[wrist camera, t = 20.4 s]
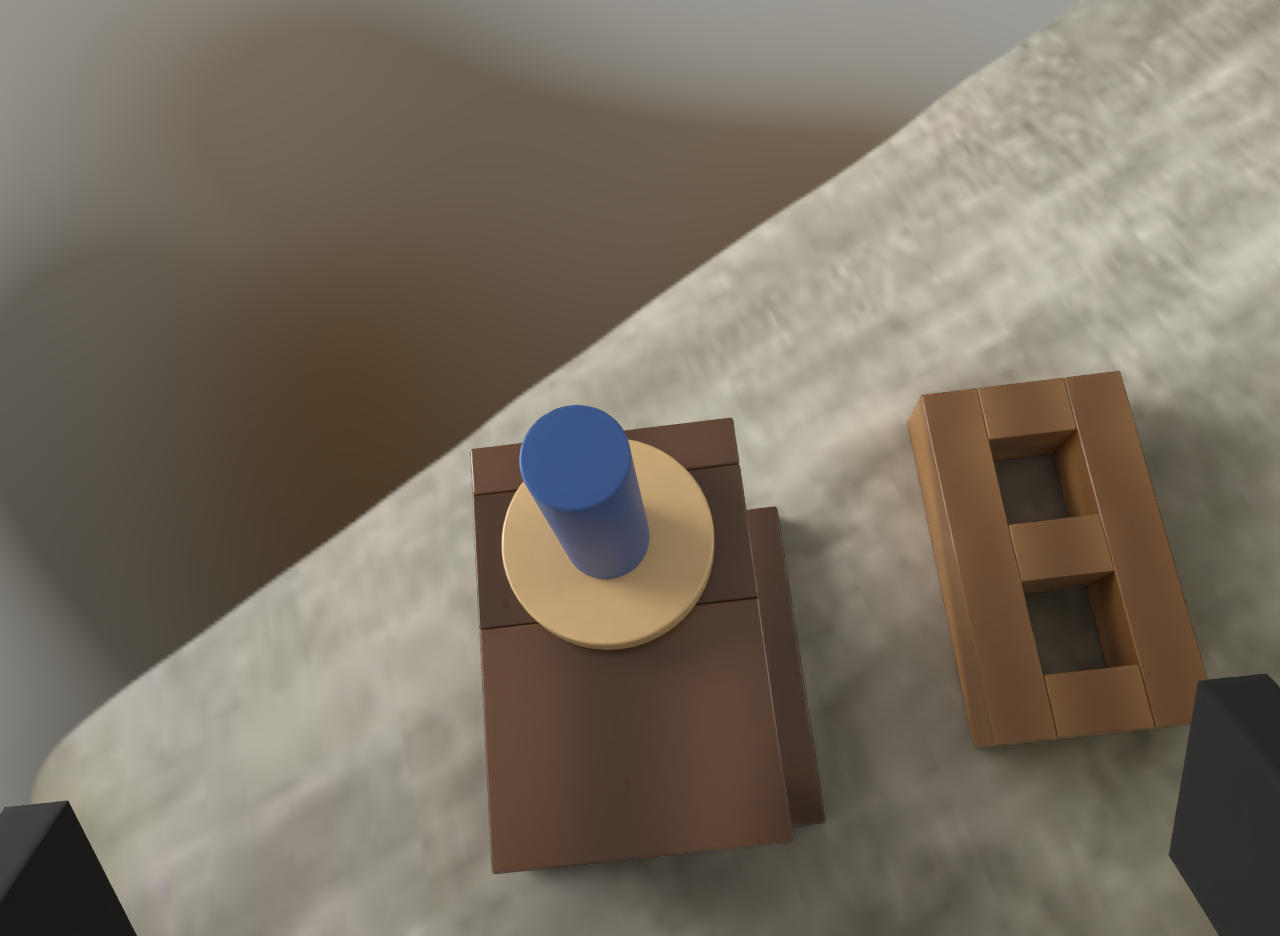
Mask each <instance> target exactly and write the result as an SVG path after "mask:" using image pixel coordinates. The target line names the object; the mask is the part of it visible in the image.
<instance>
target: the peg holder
mask: <svg viewBox="0 0 1280 936" xmlns="http://www.w3.org/2000/svg"><path fill="white" fill-rule="evenodd" d="M907 423H908V428H909V433H910V438H911V443H912V447H913V452H914V457H915V462H916V467H917V472H918V477H919V482H920V487H921V491H922V496H923V501H924V506H925V511H926V516H927V521H928V526H929V531H930V535H931V540H932V545H933V550H934V555H935V560H936V565H937V570H938V575H939V579H940V584H941V589H942V594H943V599H944V604H945V609H946V614H947V619H948V623H949V628H950V633H951V638H952V643H953V648H954V653H955V658H956V663H957V667H958V672H959V677H960V682H961V687H962V692H963V697H964V702H965V707H966V711H967V716H968V721H969V726H970V731H971V736H972V741H973V746H974V748H976V749H977V748H986V747H995V746H1004V745H1013V744H1022V743H1031V742H1041V741H1050V740H1059V739H1068V738H1077V737H1086V736H1095V735H1104V734H1113V733H1122V732H1131V731H1140V730H1149V729H1159V728H1168V727H1177V726H1184V725H1191V720H1192V714H1193V708H1194V702H1195V696H1196V690H1197V684H1198V681H1202V680H1207V676H1206V673H1205V669H1204V666H1203V662H1202V659H1201V655H1200V652H1199V648H1198V645H1197V641H1196V638H1195V634H1194V631H1193V627H1192V623H1191V620H1190V616H1189V613H1188V609H1187V606H1186V602H1185V599H1184V595H1183V592H1182V588H1181V585H1180V581H1179V578H1178V574H1177V571H1176V567H1175V563H1174V560H1173V556H1172V553H1171V549H1170V546H1169V542H1168V539H1167V535H1166V532H1165V528H1164V525H1163V521H1162V518H1161V514H1160V511H1159V507H1158V504H1157V500H1156V496H1155V493H1154V489H1153V486H1152V482H1151V479H1150V475H1149V472H1148V468H1147V465H1146V461H1145V458H1144V454H1143V451H1142V447H1141V444H1140V440H1139V437H1138V433H1137V429H1136V426H1135V422H1134V419H1133V415H1132V412H1131V408H1130V405H1129V401H1128V398H1127V394H1126V391H1125V387H1124V384H1123V380H1122V377H1121V373H1120V371H1115V372H1107V373H1099V374H1090V375H1082V376H1074V377H1066V378H1064V379H1063V378H1058V379H1049V380H1041V381H1033V382H1025V383H1017V384H1008V385H1000V386H992V387H984V388H978V389H967V390H959V391H951V392H943V393H934V394H926V395H921V397H920V399H919V401H918V403H917V405H916V407H915V409H914V411H913V412H912V414H911V416H910V418H909V420H908V422H907ZM1052 453H1053V457H1054V461H1055V465H1056V469H1057V473H1058V477H1059V481H1060V485H1061V489H1062V493H1063V497H1064V500H1065V504H1066V508H1067V512H1068V516H1069V518H1061V519H1052V520H1044V521H1035V522H1027V523H1018V524H1010V525H1008V522H1007V517H1006V513H1005V509H1004V504H1003V500H1002V496H1001V491H1000V487H999V483H998V479H997V474H996V470H995V466H994V461H999V460H1007V459H1016V458H1024V457H1032V456H1041V455H1049V454H1052ZM1082 587H1086V588H1087V592H1088V596H1089V600H1090V604H1091V607H1092V611H1093V615H1094V619H1095V623H1096V627H1097V631H1098V635H1099V639H1100V643H1101V647H1102V651H1103V655H1104V659H1105V663H1106V667H1107V668H1101V669H1092V670H1083V671H1075V672H1066V673H1057V674H1048V675H1043V673H1042V669H1041V664H1040V660H1039V656H1038V651H1037V647H1036V643H1035V638H1034V634H1033V630H1032V625H1031V621H1030V617H1029V613H1028V608H1027V604H1026V600H1025V595H1024V594H1029V593H1038V592H1047V591H1055V590H1064V589H1073V588H1082Z"/></svg>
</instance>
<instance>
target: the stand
mask: <svg viewBox="0 0 1280 936" xmlns="http://www.w3.org/2000/svg"><path fill="white" fill-rule="evenodd" d="M624 432H625V434H626V436H627V439H628V440H634V441H638V442H641V443H645V444H648V445H651V446H653V447H655V448H657V449H659V450H661V451H663V452H665V453H666V454H668V455H669V456H671V457H672V458H674V459H675V460H676V461H677V462H679V463H680V464H681V465H682V466H683V467H684V468H685V469H686V470H687V471H688V472H689V473H690V474H691V475H692V476H693V478H694V479H695V481H696V482H697V484H698V485H699V487H700V488H701V490H702V492H703V494H704V496H705V498H706V500H707V503H708V506H709V509H710V511H711V516H712V521H713V526H714V558H713V564H712V569H711V573H710V576H709V579H708V582H707V585H706V587H705V589H704V591H703V593H702V595H701V597H700V598H699V600H698V601H697V603H696V604H695V606H694V607H693V609H692V610H691V611H690V612H689V613H688V614H687V615H686V617H685V618H684V619H683V620H682V621H681V622H679V623H678V624H677V625H676V626H675V627H673V628H672V629H671V630H669V631H668V632H666V633H665V634H663V635H662V636H660V637H658V638H656V639H654V640H651V641H649V642H647V643H644V644H641V645H638V646H635V647H630V648H624V649H615V650H601V649H591V648H586V647H582V646H578V645H575V644H572V643H570V642H567V641H565V640H563V639H561V638H559V637H557V636H555V635H553V634H552V633H551V632H549V631H548V630H547V629H545V628H544V627H542V626H541V625H540V624H539V623H538V622H537V621H536V620H535V619H534V618H533V617H532V616H531V615H530V614H529V613H528V612H527V611H526V609H525V608H524V607H523V606H522V604H521V603H520V602H519V600H518V599H517V597H516V595H515V594H514V592H513V590H512V588H511V586H510V583H509V581H508V579H507V576H506V572H505V568H504V564H503V557H502V532H503V525H504V521H505V517H506V514H507V510H508V508H509V506H510V503H511V501H512V498H513V497H514V495H515V493H516V492H517V490H518V488H519V486H520V485H521V484H522V483H523V479H522V476H521V472H520V467H519V455H520V449H521V445H522V443H519V444H510V445H502V446H494V447H486V448H478V449H472V450H471V452H470V456H471V476H472V494H473V498H472V500H473V519H474V539H475V558H476V577H477V597H478V616H479V628H480V651H481V670H482V690H483V709H484V728H485V747H486V767H487V786H488V805H489V825H490V844H491V863H492V872H493V874H501V873H510V872H519V871H528V870H538V869H547V868H556V867H565V866H575V865H584V864H593V863H602V862H612V861H621V860H630V859H640V858H649V857H658V856H667V855H677V854H686V853H695V852H704V851H714V850H723V849H732V848H741V847H751V846H760V845H769V844H779V843H788V842H792V841H793V839H794V838H793V831H792V827H793V826H802V825H812V824H821V823H825V821H826V820H825V813H824V807H823V800H822V794H821V787H820V781H819V774H818V768H817V761H816V755H815V748H814V742H813V736H812V729H811V723H810V716H809V710H808V703H807V697H806V690H805V684H804V677H803V671H802V664H801V658H800V651H799V645H798V639H797V632H796V626H795V619H794V613H793V606H792V600H791V593H790V587H789V580H788V574H787V567H786V561H785V554H784V548H783V541H782V535H781V529H780V522H779V516H778V509H777V507H766V508H758V509H750V510H746V504H745V497H744V491H743V484H742V477H741V470H740V465H739V456H738V449H737V443H736V436H735V429H734V422H733V419H732V418H724V419H716V420H708V421H699V422H691V423H683V424H675V425H667V426H658V427H650V428H642V429H634V430H625V431H624Z"/></svg>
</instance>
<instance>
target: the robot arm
mask: <svg viewBox="0 0 1280 936" xmlns="http://www.w3.org/2000/svg"><path fill="white" fill-rule="evenodd" d="M1169 856H1170V858H1171V859H1172V861H1173V863H1174V864H1175V866H1176V867H1177V869H1178V870H1179V872H1180V874H1181V875H1182V877H1183V878H1184V880H1185V882H1186V883H1187V885H1188V886H1189V888H1190V890H1191V891H1192V893H1193V894H1194V896H1195V898H1196V899H1197V901H1198V902H1199V904H1200V906H1201V907H1202V909H1203V910H1204V912H1205V914H1206V915H1207V917H1208V918H1209V920H1210V922H1211V923H1212V925H1213V926H1214V928H1215V930H1216V931H1217V933H1218V934H1219V936H1280V687H1279V686H1278V685H1277V684H1276V683H1275V682H1274V681H1273V680H1272V679H1271V678H1270V677H1269V675H1268V674H1259V675H1249V676H1240V677H1231V678H1221V679H1212V680H1202V681H1198V684H1197V690H1196V696H1195V702H1194V708H1193V714H1192V720H1191V726H1190V732H1189V738H1188V744H1187V750H1186V756H1185V762H1184V768H1183V774H1182V780H1181V786H1180V792H1179V798H1178V803H1177V809H1176V815H1175V821H1174V827H1173V833H1172V839H1171V845H1170V851H1169ZM0 936H137V935H136V933H135V931H134V929H133V927H132V925H131V923H130V921H129V919H128V917H127V915H126V913H125V911H124V909H123V907H122V905H121V904H120V902H119V900H118V898H117V896H116V894H115V892H114V890H113V888H112V886H111V884H110V882H109V880H108V878H107V876H106V874H105V872H104V870H103V868H102V866H101V864H100V862H99V860H98V858H97V856H96V854H95V852H94V850H93V848H92V847H91V845H90V843H89V841H88V839H87V837H86V835H85V833H84V831H83V829H82V827H81V825H80V823H79V821H78V819H77V817H76V815H75V813H74V811H73V809H72V807H71V805H70V803H69V801H60V802H50V803H41V804H32V805H22V806H13V807H5V808H4V809H3V811H2V812H1V813H0Z"/></svg>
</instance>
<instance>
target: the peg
mask: <svg viewBox="0 0 1280 936" xmlns="http://www.w3.org/2000/svg"><path fill="white" fill-rule="evenodd" d="M519 467H520V472H521V476H522V479H523V483H522V484H521V485H520V486H519V488H518V490H517V492H516V493H515V495H514V497H513V498H512V501H511V503H510V506H509V508H508V510H507V514H506V517H505V521H504V525H503V532H502V557H503V564H504V568H505V572H506V576H507V579H508V581H509V583H510V586H511V588H512V590H513V592H514V594H515V595H516V597H517V599H518V600H519V602H520V603H521V604H522V606H523V607H524V608H525V609H526V611H527V612H528V613H529V614H530V615H531V616H532V617H533V618H534V619H535V620H536V621H537V622H538V623H539V624H540V625H541V626H542V627H544V628H545V629H547V630H548V631H549V632H551V633H552V634H553V635H555V636H557V637H559V638H561V639H563V640H565V641H567V642H570V643H572V644H575V645H578V646H582V647H586V648H591V649H601V650H615V649H624V648H630V647H635V646H638V645H641V644H644V643H647V642H649V641H651V640H654V639H656V638H658V637H660V636H662V635H663V634H665V633H666V632H668V631H669V630H671V629H672V628H673V627H675V626H676V625H677V624H678V623H679V622H681V621H682V620H683V619H684V618H685V617H686V615H687V614H688V613H689V612H690V611H691V610H692V609H693V607H694V606H695V604H696V603H697V601H698V600H699V598H700V597H701V595H702V593H703V591H704V589H705V587H706V585H707V582H708V579H709V576H710V573H711V569H712V564H713V558H714V526H713V521H712V516H711V511H710V509H709V506H708V503H707V500H706V498H705V496H704V494H703V492H702V490H701V488H700V487H699V485H698V484H697V482H696V481H695V479H694V478H693V476H692V475H691V474H690V473H689V472H688V471H687V470H686V469H685V468H684V467H683V466H682V465H681V464H680V463H679V462H677V461H676V460H675V459H674V458H672V457H671V456H669V455H668V454H666V453H665V452H663V451H661V450H659V449H657V448H655V447H653V446H651V445H648V444H645V443H641V442H638V441H634V440H628V439H627V436H626V434H625V432H624V430H623V429H622V427H621V426H620V425H619V424H618V422H617V421H616V420H615V419H613V418H612V417H611V416H610V415H608V414H607V413H605V412H603V411H601V410H599V409H596V408H593V407H589V406H583V405H572V406H565V407H561V408H558V409H555V410H553V411H551V412H549V413H547V414H545V415H544V416H542V417H541V418H540V419H539V420H537V421H536V422H535V423H534V424H533V426H532V427H531V428H530V429H529V431H528V432H527V434H526V436H525V438H524V440H523V442H522V445H521V449H520V455H519Z"/></svg>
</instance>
